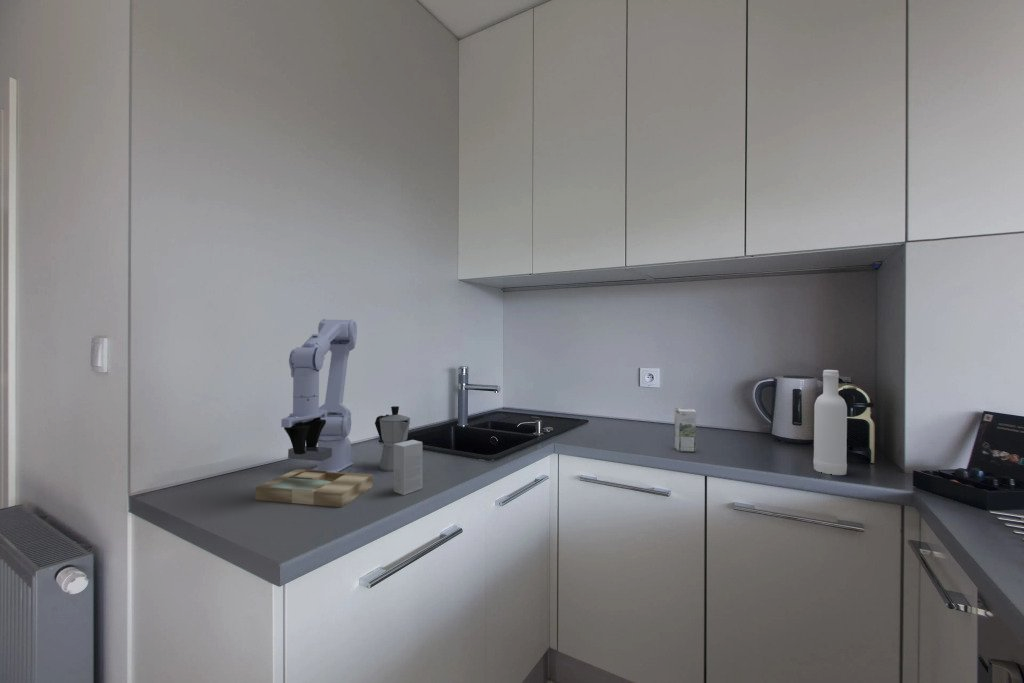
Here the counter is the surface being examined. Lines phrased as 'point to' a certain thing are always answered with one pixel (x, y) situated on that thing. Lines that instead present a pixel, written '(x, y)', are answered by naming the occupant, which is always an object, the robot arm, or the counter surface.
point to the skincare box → (408, 466)
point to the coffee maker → (391, 435)
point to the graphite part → (311, 453)
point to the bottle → (830, 428)
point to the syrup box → (685, 430)
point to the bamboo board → (315, 487)
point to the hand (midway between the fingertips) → (305, 451)
